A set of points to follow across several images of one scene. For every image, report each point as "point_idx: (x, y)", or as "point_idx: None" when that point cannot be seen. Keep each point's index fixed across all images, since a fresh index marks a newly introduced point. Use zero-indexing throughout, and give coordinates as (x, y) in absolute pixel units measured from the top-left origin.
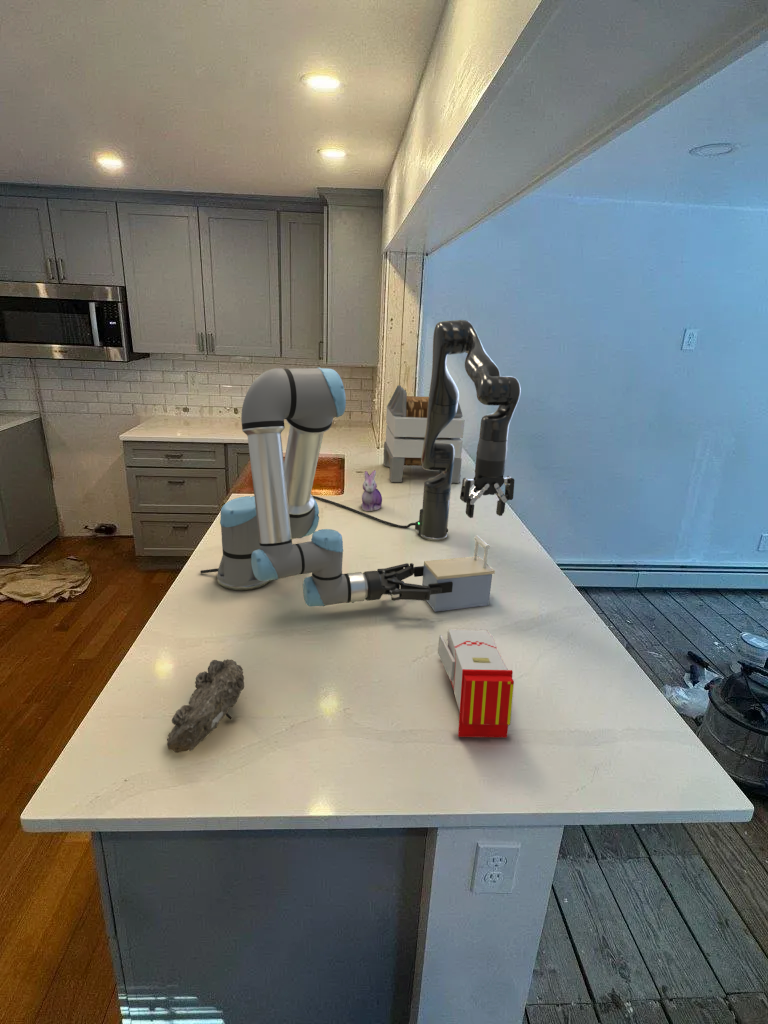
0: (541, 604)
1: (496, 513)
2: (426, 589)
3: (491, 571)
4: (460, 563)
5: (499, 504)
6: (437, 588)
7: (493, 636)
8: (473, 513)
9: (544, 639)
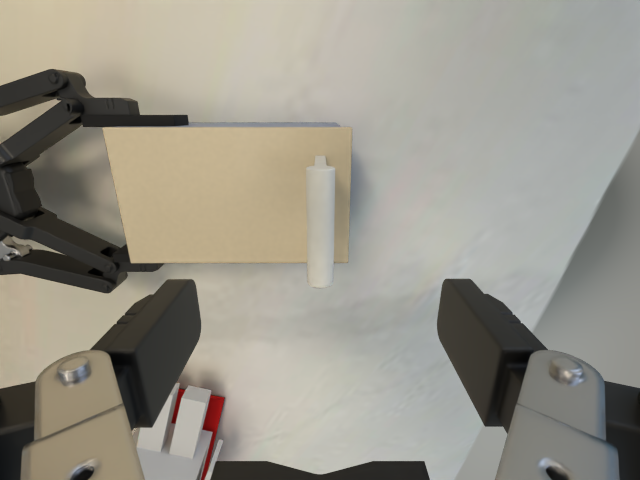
0: (471, 247)
1: (443, 282)
2: (101, 279)
3: (334, 262)
4: (247, 181)
5: (479, 371)
6: (143, 269)
7: (210, 477)
8: (187, 360)
9: (378, 366)
